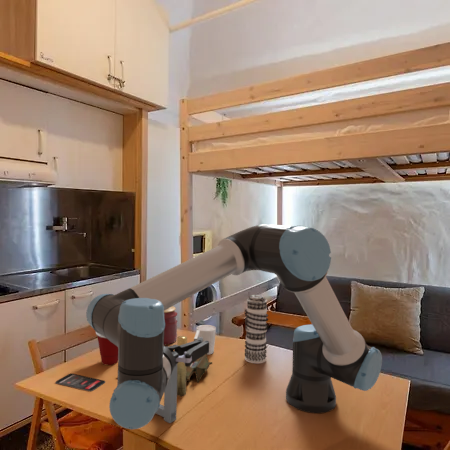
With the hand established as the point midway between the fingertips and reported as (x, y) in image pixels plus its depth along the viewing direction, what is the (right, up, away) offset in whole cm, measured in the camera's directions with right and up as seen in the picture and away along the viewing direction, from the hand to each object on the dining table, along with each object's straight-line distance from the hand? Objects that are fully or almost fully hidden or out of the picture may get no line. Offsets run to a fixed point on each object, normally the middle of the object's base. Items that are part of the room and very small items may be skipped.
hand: (171, 334), depth 94 cm
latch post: (0, -26, +23) cm, 35 cm away
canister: (-14, -24, +71) cm, 76 cm away
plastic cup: (-30, -24, +46) cm, 60 cm away
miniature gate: (-7, -26, +40) cm, 48 cm away
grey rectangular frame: (-6, -26, +11) cm, 29 cm away
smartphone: (-34, -25, +29) cm, 52 cm away
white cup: (+5, -25, +58) cm, 64 cm away
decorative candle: (+25, -25, +52) cm, 63 cm away
